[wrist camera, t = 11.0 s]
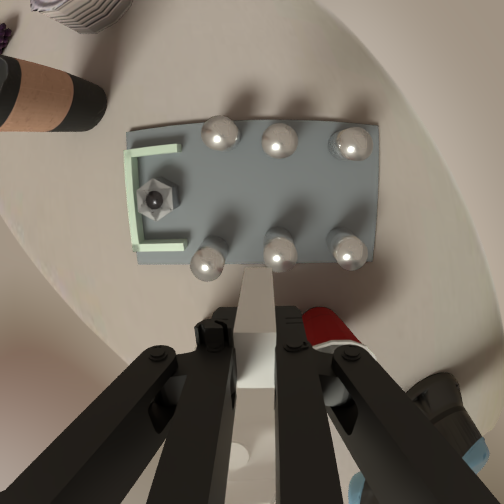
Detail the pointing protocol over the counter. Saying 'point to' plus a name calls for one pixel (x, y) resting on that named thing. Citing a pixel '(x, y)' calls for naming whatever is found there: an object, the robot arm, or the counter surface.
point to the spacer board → (259, 191)
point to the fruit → (4, 36)
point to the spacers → (279, 239)
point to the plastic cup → (328, 331)
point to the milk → (252, 448)
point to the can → (83, 13)
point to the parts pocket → (132, 205)
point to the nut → (158, 198)
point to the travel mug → (46, 99)
